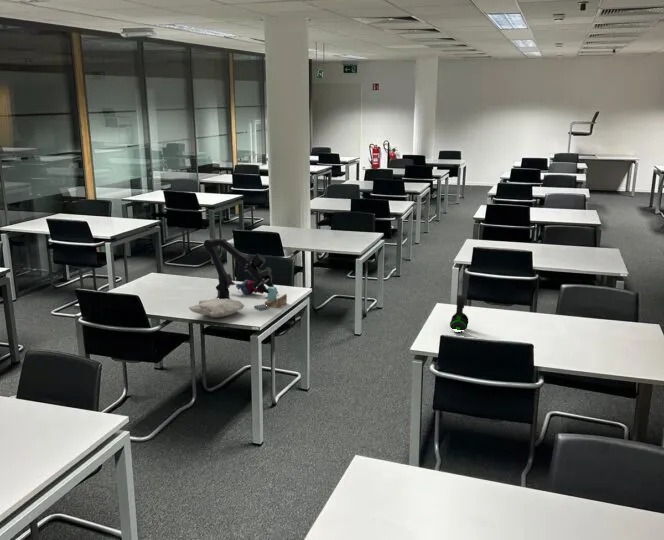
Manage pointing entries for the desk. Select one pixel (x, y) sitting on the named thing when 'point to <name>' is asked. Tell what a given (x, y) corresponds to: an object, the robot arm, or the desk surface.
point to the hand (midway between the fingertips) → (271, 291)
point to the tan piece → (277, 301)
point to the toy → (248, 287)
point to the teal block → (272, 294)
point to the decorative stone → (217, 307)
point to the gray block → (261, 307)
